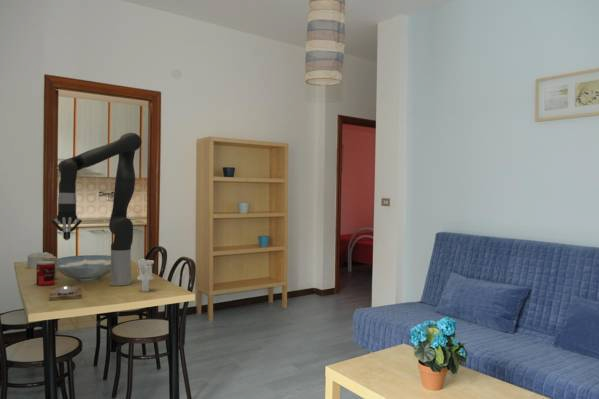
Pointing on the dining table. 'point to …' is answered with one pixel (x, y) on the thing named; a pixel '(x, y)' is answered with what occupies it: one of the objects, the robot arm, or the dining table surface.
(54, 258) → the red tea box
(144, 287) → the white tall piece
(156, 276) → the dining table surface
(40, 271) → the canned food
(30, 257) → the lumpy-topped squat cylinder
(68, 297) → the wooden cutting board
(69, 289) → the ball
